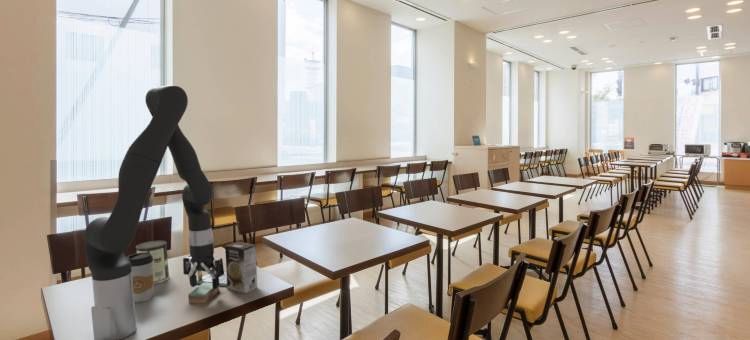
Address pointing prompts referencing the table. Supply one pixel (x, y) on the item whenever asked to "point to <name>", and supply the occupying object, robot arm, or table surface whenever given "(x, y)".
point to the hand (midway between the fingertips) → (204, 287)
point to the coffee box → (241, 266)
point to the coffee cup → (142, 275)
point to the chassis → (208, 278)
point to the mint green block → (202, 293)
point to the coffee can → (157, 259)
